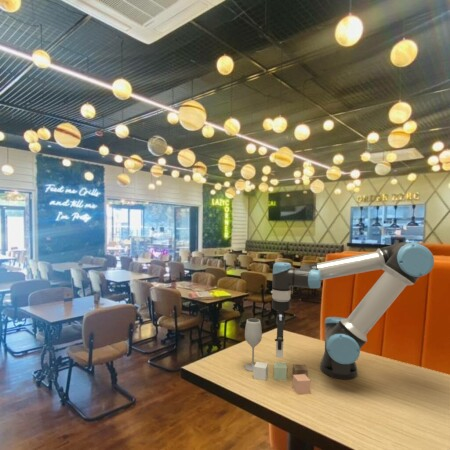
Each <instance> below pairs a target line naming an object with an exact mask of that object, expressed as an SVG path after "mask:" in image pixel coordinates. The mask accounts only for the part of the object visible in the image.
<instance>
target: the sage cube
mask: <svg viewBox="0 0 450 450" xmlns="http://www.w3.org/2000/svg"><path fill="white" fill-rule="evenodd" d="M273 368H274V369H273V378H274V379H273V380H276V381H278V380H279V381H285V382H286V381H287V370H288V368H287V363H286V362H277V361H275V362H274V365H273Z"/></svg>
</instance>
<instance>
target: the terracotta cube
mask: <svg viewBox="0 0 450 450" xmlns="http://www.w3.org/2000/svg"><path fill="white" fill-rule="evenodd" d="M292 389H293V390H294V392H295V394H297V395H308V394H311V379H310V378H309V376H308V377H307V376H306V375H305V374H299V375H293V374H292Z"/></svg>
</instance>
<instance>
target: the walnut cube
mask: <svg viewBox="0 0 450 450" xmlns="http://www.w3.org/2000/svg"><path fill="white" fill-rule="evenodd" d="M308 371H309V370H308V368H307V366H306V364H292V376H293V375H299V374H305V375H306V376H307V377H308V378H309V376H308V374H309V372H308Z"/></svg>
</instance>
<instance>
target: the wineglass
mask: <svg viewBox="0 0 450 450" xmlns="http://www.w3.org/2000/svg"><path fill="white" fill-rule="evenodd" d="M244 329H245V330H244V338H245V341H246V343H247V344H248V345H250V347H251V350H252V351H251V352H252V354H251V356H252V357H251V359H252V360H251V363H247V364H245V365H244V369H245V370H246V371H248V372H253V373H254V365H255V347H257V346H258V345H259V344H260V343H261V341H262V338H263V332H262V323H261V320H260V319H259V318H255V317H253V318H252V317H251V318H248V319H246V322H245V327H244Z"/></svg>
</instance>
